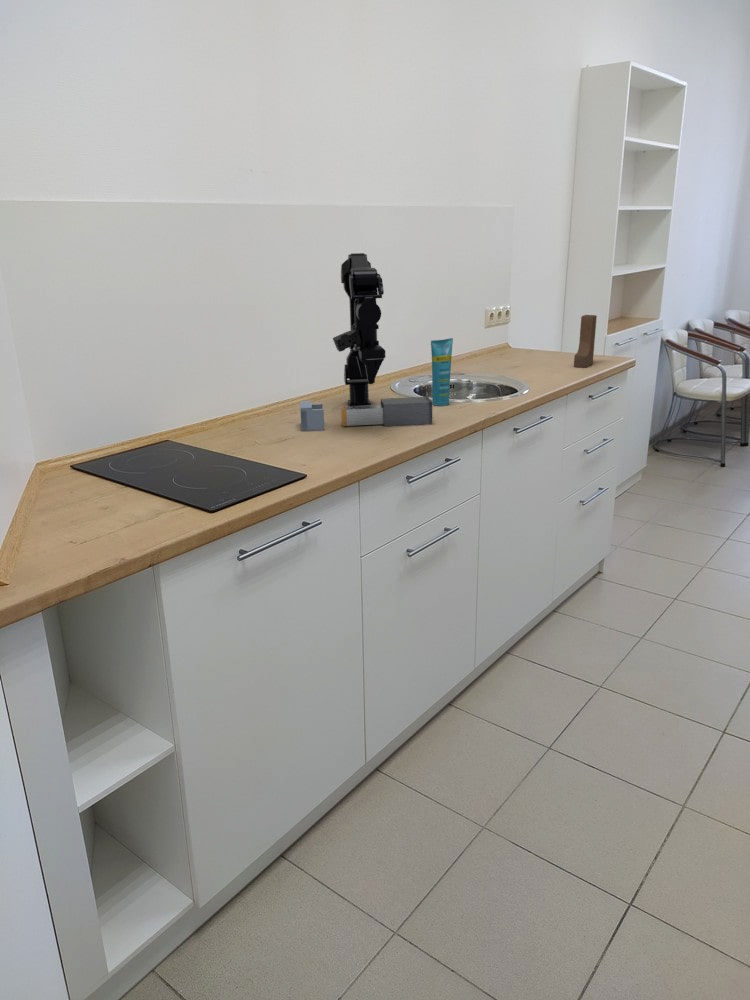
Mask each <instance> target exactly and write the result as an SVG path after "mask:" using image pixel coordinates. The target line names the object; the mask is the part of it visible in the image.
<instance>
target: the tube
mask: <svg viewBox="0 0 750 1000" xmlns="http://www.w3.org/2000/svg"><path fill="white" fill-rule="evenodd" d="M453 340H454V338H453V337H450V338H444V339H438V340H430V350H431V353H430V354H431V381H432V383H431V385H432V386H431V387H432V390H431V391H432V398H431V399H432V400H431V401H432V406H433V405H434V406H440V407H444V406H448V405H449V404H450V403H449V402H450V386H451V385H450V384H451V369H452V355H453V354H452V353H453V343H454V341H453Z"/></svg>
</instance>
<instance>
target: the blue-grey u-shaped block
mask: <svg viewBox="0 0 750 1000" xmlns="http://www.w3.org/2000/svg"><path fill="white" fill-rule="evenodd" d="M299 409H300V424H301V431H302V432H308V431H310V432H311V431H325V412H324V408H323V403H322V402H321V403H312V400H305V401H304V400H303V401H302V400H301V401H299Z"/></svg>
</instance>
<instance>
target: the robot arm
mask: <svg viewBox="0 0 750 1000" xmlns="http://www.w3.org/2000/svg"><path fill="white" fill-rule="evenodd" d="M340 282H341V284H343V291H345V293H346V296H347V297H348V298H349V323H350V324H349V325H350V330H349V331H345V332H343V333H341V334H339V335H337V336H334V337H332V341H333V344H334V345H335V348H336V350H337V351H338V352H343V351H345V350H346V349H350V351H349V353H348V355H347V357H346V364H344V367H343V368H344V369H343V371H344V372H343V373H344V374H343V378H344V379H343V381H344V384H345V386H348V385H349V386H348V388H349V399H347V403H348V406H364V405H372V402H371V401H370V398H369V395H370V394H369V385H374V383H376V381H375V380H376V377H377V375H378V372H379V371H380V368H381V366H382V364H383V361H384V360H385V359H386V350H385V348H383V346H381V345H380V341H379V340H378V330H379V324H378V323H379V321H381V320H380V319H381V317H382V310H381V307H380V306H379V305H378V304H377V299H383V295H384V293H385V292H384V284H383V278H382V276H381V274H380V273H378V270H377V269H376V268H375V267H372V264H371V262H370V261H369V260H368V255H367V253H364V252H362V253H361V252H358V253H356V252H355V253H350V254H348V256H347V259H346V260H345V261H344V262H342V263H341V266H340Z"/></svg>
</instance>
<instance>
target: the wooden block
mask: <svg viewBox="0 0 750 1000" xmlns="http://www.w3.org/2000/svg"><path fill="white" fill-rule="evenodd" d="M597 317H598V316H597V314H596V315H595V314H584V315H582V316H580V329H579V331H580V332H579V343H578V349H577V352H576V353H575V354H574V357H573V358H574V360H573V367H574V368H580V369H581V368H582V369H586V368H587V367H589V366H592V365H593V363H594V350H595V344H596V343H595V342H596V341H595V340H596V330H597V329H596V328H597Z"/></svg>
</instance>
